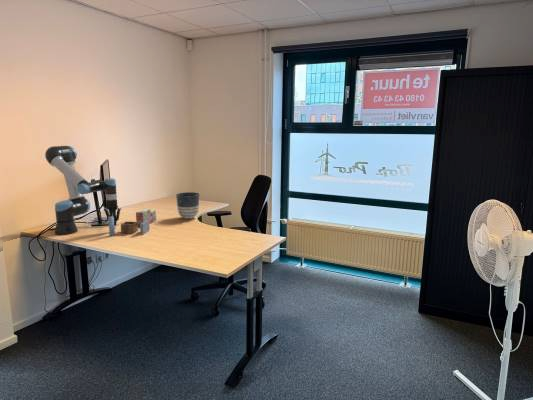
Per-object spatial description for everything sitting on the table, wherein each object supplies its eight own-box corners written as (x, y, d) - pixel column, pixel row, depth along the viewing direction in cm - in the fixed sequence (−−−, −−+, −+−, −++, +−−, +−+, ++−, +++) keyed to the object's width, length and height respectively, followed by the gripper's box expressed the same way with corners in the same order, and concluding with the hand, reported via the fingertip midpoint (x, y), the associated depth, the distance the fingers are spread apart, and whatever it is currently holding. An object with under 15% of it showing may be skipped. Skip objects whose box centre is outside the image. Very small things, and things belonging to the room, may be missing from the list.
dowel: (108, 236, 271) (107, 217, 269) (111, 234, 275) (109, 216, 272) (113, 236, 271) (112, 217, 268) (115, 235, 275) (114, 216, 272)
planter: (173, 217, 328) (172, 193, 324) (193, 214, 340) (192, 191, 336) (183, 222, 313) (182, 197, 309) (203, 218, 325) (203, 194, 320)
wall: (140, 234, 276) (140, 224, 274) (146, 230, 288) (146, 220, 286) (143, 234, 276) (142, 224, 274) (149, 230, 288) (148, 220, 286)
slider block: (121, 233, 279) (120, 224, 277) (126, 230, 287) (126, 221, 286) (133, 233, 278) (132, 224, 277) (138, 230, 287) (137, 221, 285)
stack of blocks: (149, 220, 318) (148, 206, 316) (156, 220, 317) (155, 206, 315) (136, 226, 298) (135, 211, 295) (143, 227, 297) (142, 212, 294)
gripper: (100, 200, 276) (103, 230, 280) (117, 200, 275) (119, 231, 279) (105, 198, 283) (108, 228, 287) (122, 198, 282) (124, 228, 286)
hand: (113, 229), depth 283 cm, fingers closed
